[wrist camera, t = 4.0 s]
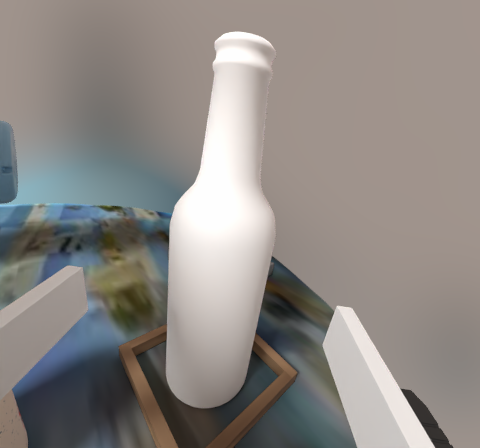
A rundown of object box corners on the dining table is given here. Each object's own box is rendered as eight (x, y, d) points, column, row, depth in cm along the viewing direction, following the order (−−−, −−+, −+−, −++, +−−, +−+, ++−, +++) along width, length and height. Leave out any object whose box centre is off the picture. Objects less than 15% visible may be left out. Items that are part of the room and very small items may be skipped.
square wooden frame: (119, 356, 25) (118, 346, 24) (219, 307, 34) (220, 299, 33) (180, 504, 16) (181, 494, 15) (294, 381, 25) (297, 372, 24)
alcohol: (238, 334, 30) (284, 75, 19) (254, 408, 22) (348, 33, 11) (169, 338, 28) (179, 51, 17) (160, 421, 20) (167, -20, 9)
